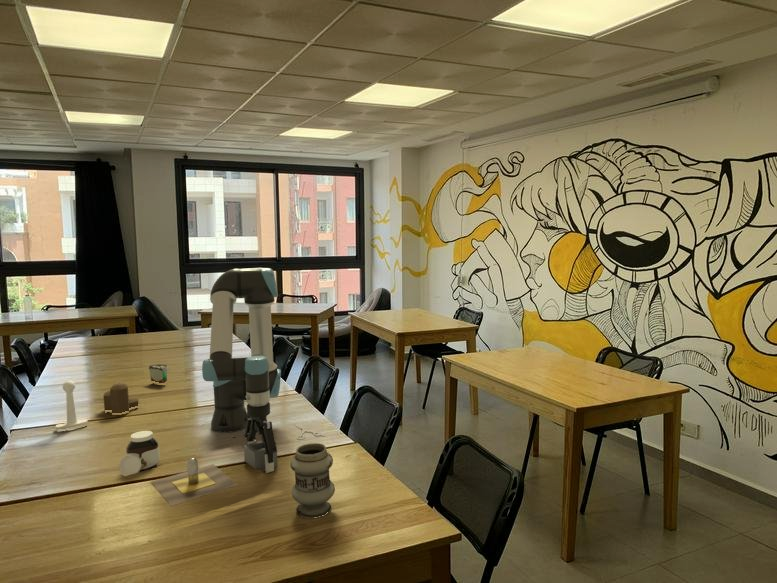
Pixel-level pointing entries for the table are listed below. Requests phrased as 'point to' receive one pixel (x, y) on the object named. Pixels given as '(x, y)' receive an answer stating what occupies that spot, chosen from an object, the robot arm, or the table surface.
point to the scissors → (308, 431)
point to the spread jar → (140, 454)
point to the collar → (257, 455)
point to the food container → (158, 372)
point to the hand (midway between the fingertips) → (261, 465)
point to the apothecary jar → (312, 480)
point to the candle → (118, 399)
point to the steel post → (192, 471)
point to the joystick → (70, 408)
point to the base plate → (180, 491)
